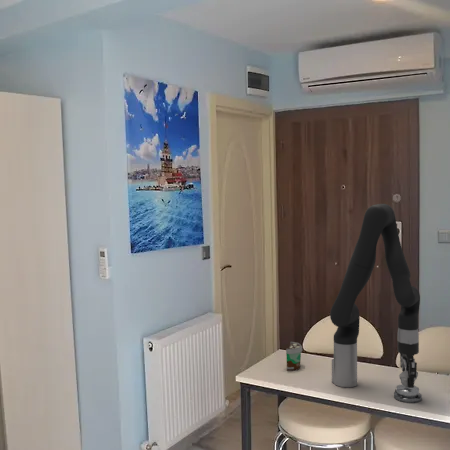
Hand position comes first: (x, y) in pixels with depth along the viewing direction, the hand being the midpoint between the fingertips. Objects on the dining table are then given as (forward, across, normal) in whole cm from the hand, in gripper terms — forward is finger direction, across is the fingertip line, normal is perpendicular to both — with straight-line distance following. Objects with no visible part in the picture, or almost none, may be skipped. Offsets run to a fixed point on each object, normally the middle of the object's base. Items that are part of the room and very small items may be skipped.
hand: (408, 384), depth 202 cm
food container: (+5, -34, -40) cm, 52 cm away
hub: (+5, 0, 0) cm, 5 cm away
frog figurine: (+1, 0, 0) cm, 1 cm away
